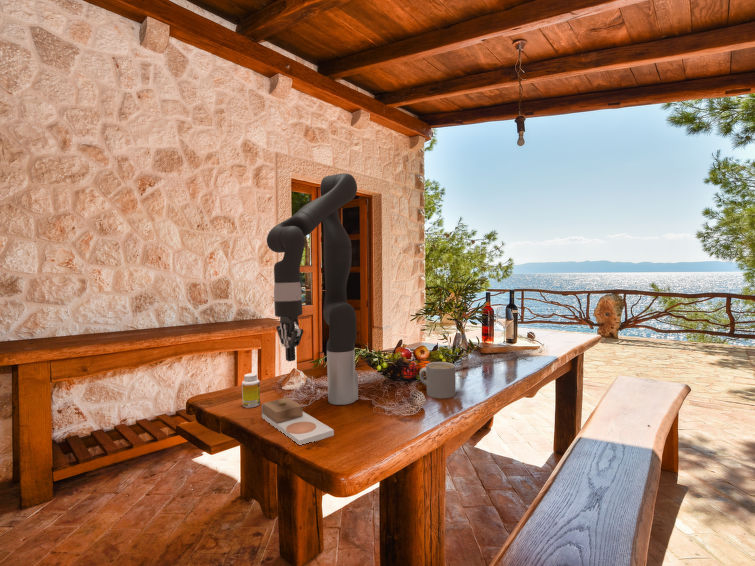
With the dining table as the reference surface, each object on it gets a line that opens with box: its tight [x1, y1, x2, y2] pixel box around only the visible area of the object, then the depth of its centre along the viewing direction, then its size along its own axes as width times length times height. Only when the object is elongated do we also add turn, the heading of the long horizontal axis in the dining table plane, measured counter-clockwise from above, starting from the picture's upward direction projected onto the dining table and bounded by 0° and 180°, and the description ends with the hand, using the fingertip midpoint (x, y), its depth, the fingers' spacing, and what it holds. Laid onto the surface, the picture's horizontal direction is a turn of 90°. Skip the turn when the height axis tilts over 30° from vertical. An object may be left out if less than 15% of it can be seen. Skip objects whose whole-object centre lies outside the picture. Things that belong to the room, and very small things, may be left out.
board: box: [261, 404, 335, 446], centre depth 111 cm, size 10×25×4 cm, turn 38°
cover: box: [262, 397, 304, 423], centre depth 116 cm, size 8×10×4 cm
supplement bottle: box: [241, 372, 261, 409], centre depth 129 cm, size 6×6×10 cm
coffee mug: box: [418, 361, 457, 399], centre depth 138 cm, size 13×10×10 cm
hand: (290, 360), depth 110 cm, fingers closed
